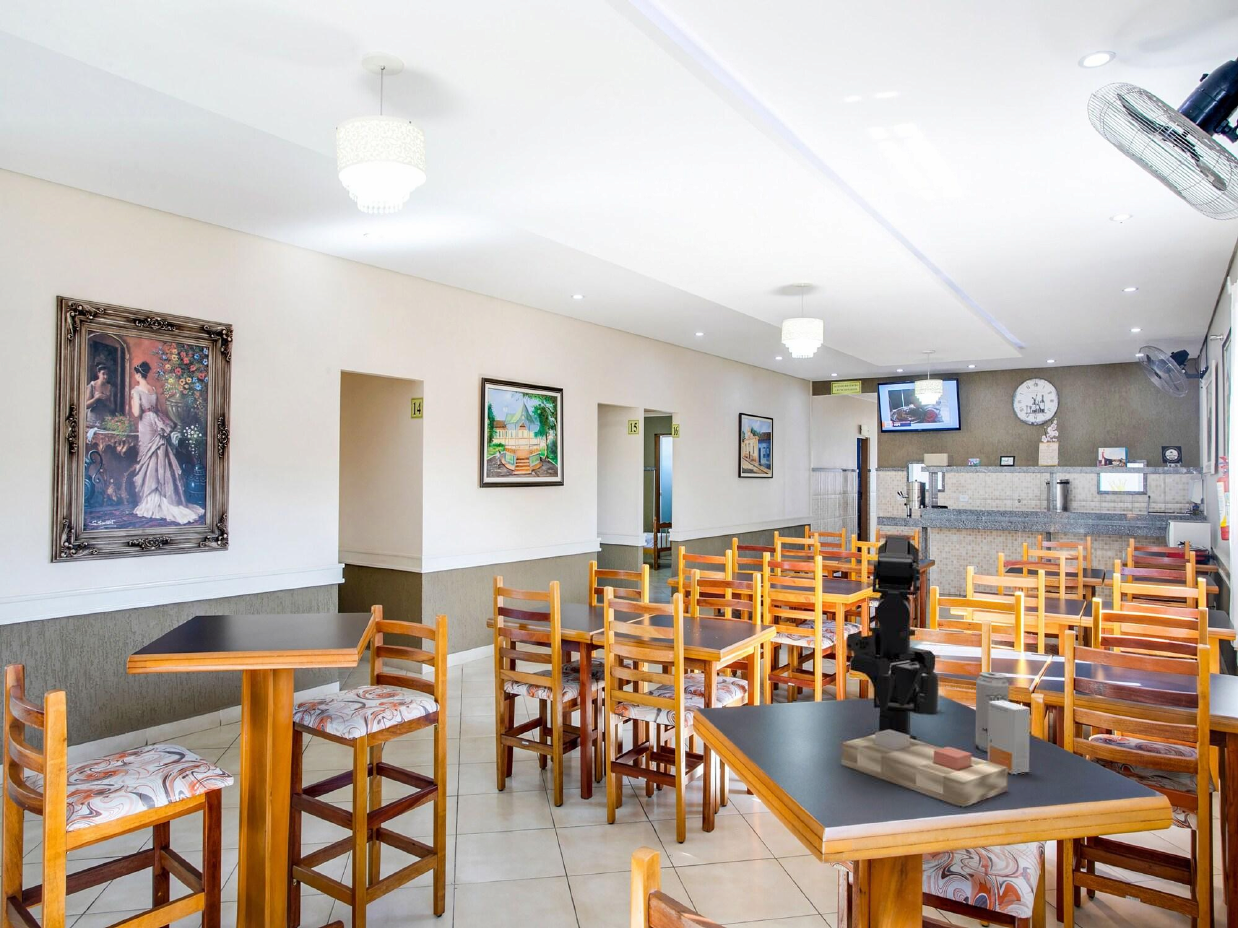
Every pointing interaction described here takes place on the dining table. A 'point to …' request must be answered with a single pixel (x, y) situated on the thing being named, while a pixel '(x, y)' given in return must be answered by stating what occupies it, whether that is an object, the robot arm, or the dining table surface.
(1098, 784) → the dining table surface
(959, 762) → the button red
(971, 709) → the dining table surface
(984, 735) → the energy drink can
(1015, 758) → the skincare box
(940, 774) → the console
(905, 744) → the button grey
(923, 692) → the supplement bottle
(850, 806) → the dining table surface
